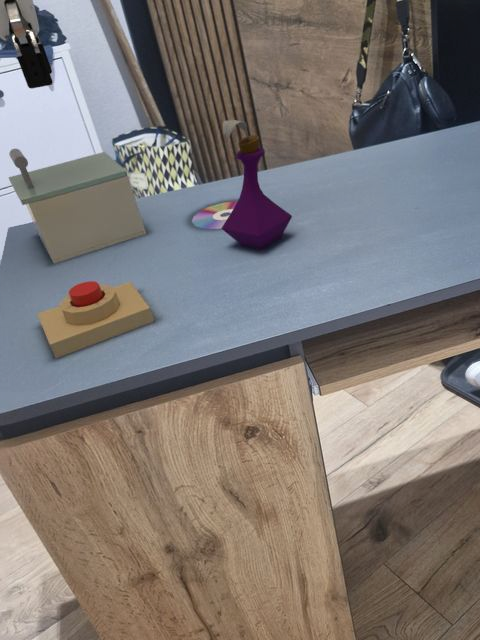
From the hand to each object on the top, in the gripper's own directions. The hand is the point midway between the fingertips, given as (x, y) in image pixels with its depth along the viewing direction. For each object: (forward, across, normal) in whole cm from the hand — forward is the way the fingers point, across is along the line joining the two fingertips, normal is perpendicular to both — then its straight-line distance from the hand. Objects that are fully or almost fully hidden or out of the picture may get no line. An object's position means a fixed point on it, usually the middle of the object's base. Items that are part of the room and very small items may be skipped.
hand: (41, 80), depth 91 cm
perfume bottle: (+24, +19, +23) cm, 38 cm away
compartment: (+24, -1, -1) cm, 24 cm away
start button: (+21, +30, -2) cm, 36 cm away
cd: (+24, +5, +20) cm, 32 cm away
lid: (+14, -1, -1) cm, 14 cm away
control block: (+24, +30, -2) cm, 39 cm away
